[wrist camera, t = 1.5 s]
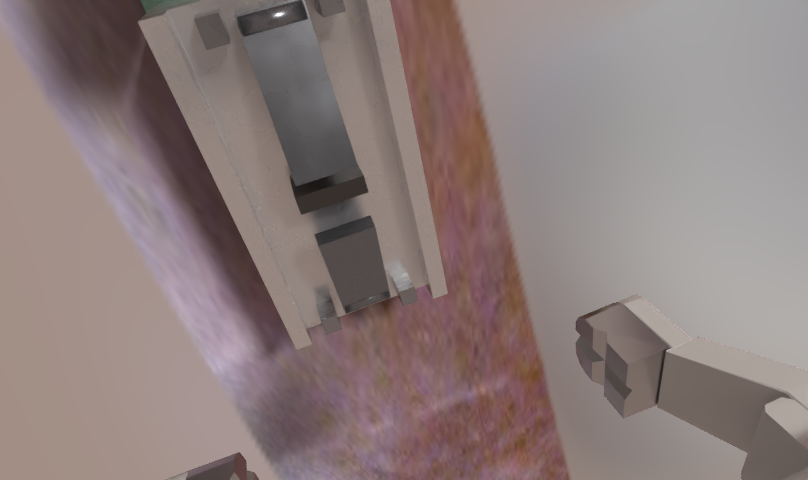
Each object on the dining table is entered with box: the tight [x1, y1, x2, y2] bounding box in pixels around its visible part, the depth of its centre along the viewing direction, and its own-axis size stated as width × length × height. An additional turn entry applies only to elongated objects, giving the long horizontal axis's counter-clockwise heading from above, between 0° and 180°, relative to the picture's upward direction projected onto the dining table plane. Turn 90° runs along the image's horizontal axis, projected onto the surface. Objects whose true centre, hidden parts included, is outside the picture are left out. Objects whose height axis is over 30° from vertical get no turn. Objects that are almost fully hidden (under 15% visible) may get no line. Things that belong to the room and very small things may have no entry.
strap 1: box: [234, 0, 358, 186], centre depth 22 cm, size 8×3×1 cm, turn 12°
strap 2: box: [315, 215, 391, 314], centre depth 28 cm, size 8×3×1 cm, turn 11°
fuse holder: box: [138, 0, 448, 350], centre depth 27 cm, size 21×11×7 cm, turn 12°
